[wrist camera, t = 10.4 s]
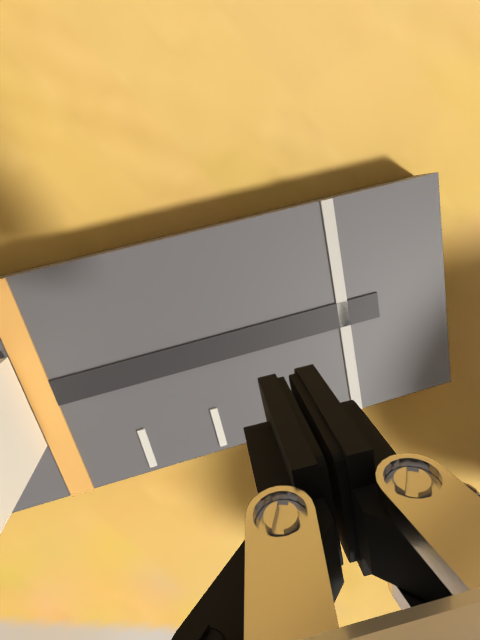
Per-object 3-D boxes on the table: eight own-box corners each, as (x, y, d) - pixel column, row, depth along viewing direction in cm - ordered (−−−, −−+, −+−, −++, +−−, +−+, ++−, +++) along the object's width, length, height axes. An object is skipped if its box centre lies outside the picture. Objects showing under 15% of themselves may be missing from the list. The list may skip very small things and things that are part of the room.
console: (-160, 315, 19) (-201, 327, 16) (414, 175, 21) (439, 172, 19) (-48, 509, 22) (-71, 539, 20) (429, 368, 25) (452, 382, 23)
